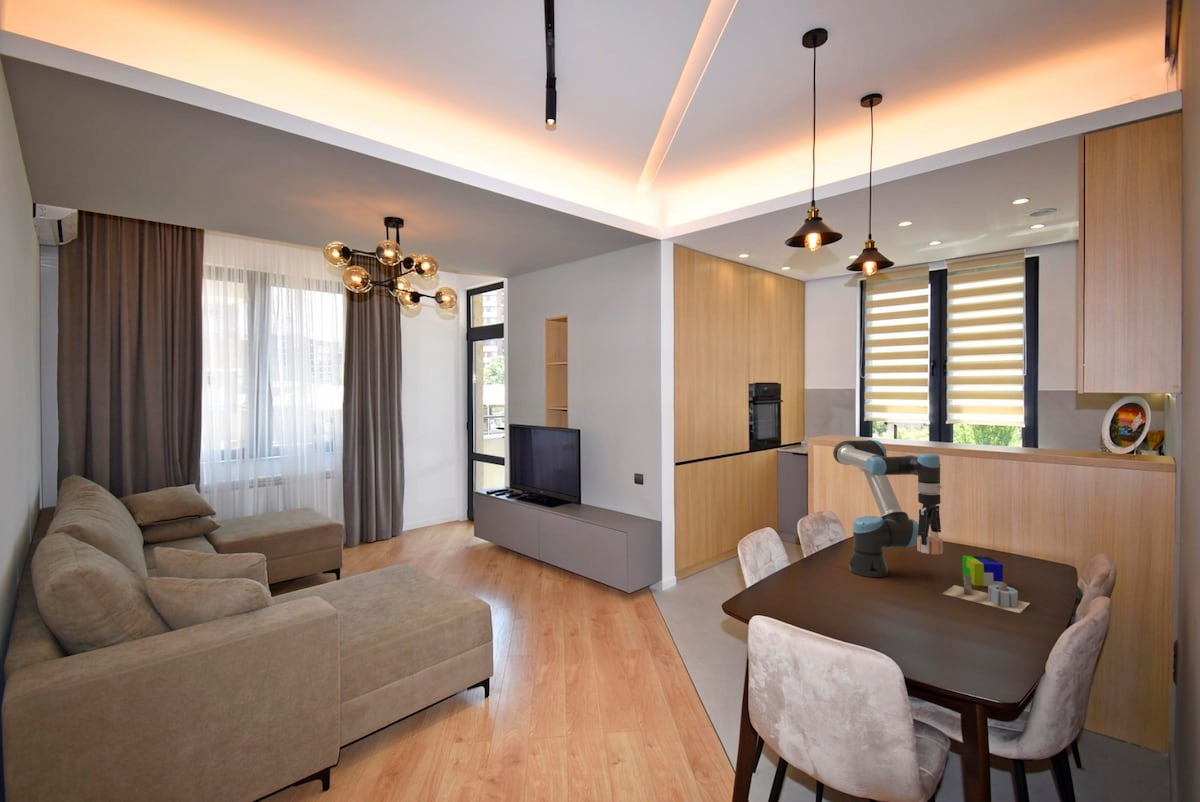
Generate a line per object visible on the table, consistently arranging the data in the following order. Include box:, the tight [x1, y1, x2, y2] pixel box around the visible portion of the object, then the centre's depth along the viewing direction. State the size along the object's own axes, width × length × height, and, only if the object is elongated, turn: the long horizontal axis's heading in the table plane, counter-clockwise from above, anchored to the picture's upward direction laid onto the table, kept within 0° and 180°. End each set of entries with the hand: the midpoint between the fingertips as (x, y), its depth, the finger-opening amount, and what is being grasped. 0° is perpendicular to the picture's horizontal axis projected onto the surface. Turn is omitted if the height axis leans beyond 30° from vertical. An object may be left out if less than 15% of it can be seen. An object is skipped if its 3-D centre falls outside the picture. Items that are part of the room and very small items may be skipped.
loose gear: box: [916, 535, 944, 555], centre depth 212 cm, size 8×8×5 cm
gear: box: [987, 585, 1019, 607], centre depth 196 cm, size 8×8×5 cm
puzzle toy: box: [962, 555, 1004, 587], centre depth 216 cm, size 10×10×10 cm
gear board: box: [941, 575, 1031, 614], centre depth 200 cm, size 24×13×8 cm, turn 39°
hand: (929, 550), depth 212 cm, fingers closed on loose gear, 8 cm apart
